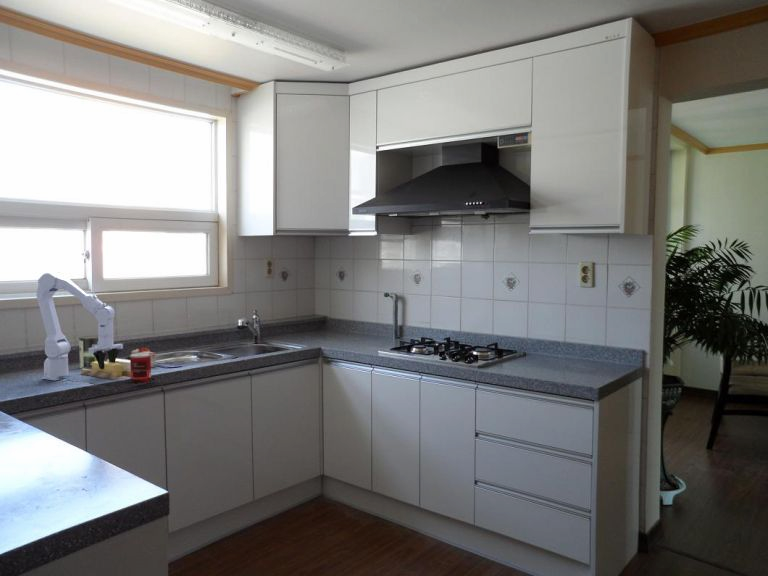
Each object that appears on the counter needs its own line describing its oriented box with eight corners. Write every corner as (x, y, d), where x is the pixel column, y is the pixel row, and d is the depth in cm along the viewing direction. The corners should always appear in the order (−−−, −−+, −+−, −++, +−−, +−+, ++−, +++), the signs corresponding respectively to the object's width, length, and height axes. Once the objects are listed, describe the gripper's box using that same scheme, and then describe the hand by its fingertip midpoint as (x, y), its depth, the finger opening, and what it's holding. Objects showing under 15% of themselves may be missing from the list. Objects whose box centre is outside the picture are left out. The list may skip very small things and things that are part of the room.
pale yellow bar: (92, 374, 252) (91, 362, 252) (100, 372, 255) (100, 360, 255) (113, 377, 245) (112, 365, 245) (121, 375, 248) (121, 363, 248)
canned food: (144, 378, 250) (144, 352, 250) (154, 381, 245) (154, 354, 245) (127, 381, 244) (126, 354, 244) (137, 384, 239) (136, 356, 239)
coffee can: (109, 366, 279) (108, 335, 278) (91, 369, 269) (90, 338, 268) (92, 364, 282) (91, 334, 282) (74, 368, 273) (73, 337, 272)
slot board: (81, 377, 252) (81, 369, 252) (114, 371, 266) (114, 363, 265) (114, 383, 241) (114, 374, 241) (147, 376, 254) (147, 368, 254)
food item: (158, 369, 270) (157, 348, 269) (140, 372, 264) (140, 350, 263) (145, 366, 279) (144, 345, 279) (128, 368, 273) (127, 346, 273)
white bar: (107, 371, 258) (107, 359, 258) (115, 369, 262) (115, 358, 261) (128, 374, 251) (128, 362, 251) (136, 372, 255) (136, 361, 254)
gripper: (95, 338, 241) (96, 371, 242) (127, 334, 253) (128, 366, 254) (85, 337, 245) (85, 370, 245) (116, 333, 257) (117, 364, 258)
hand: (106, 367), depth 250 cm, fingers closed on pale yellow bar, 4 cm apart
